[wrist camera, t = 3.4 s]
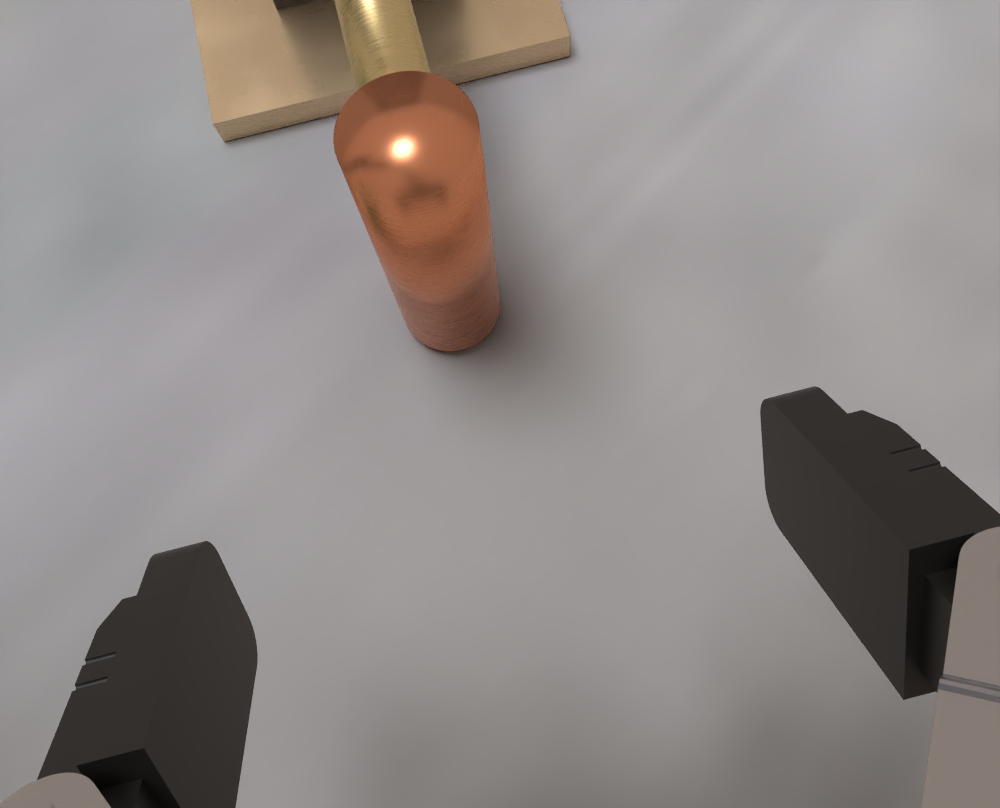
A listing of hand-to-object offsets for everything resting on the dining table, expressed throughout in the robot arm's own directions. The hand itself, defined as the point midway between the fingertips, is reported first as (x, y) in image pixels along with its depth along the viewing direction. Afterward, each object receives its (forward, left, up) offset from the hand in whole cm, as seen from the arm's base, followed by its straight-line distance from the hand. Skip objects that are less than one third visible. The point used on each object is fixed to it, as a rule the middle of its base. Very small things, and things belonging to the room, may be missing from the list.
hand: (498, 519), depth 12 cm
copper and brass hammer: (-14, +10, -12) cm, 21 cm away
